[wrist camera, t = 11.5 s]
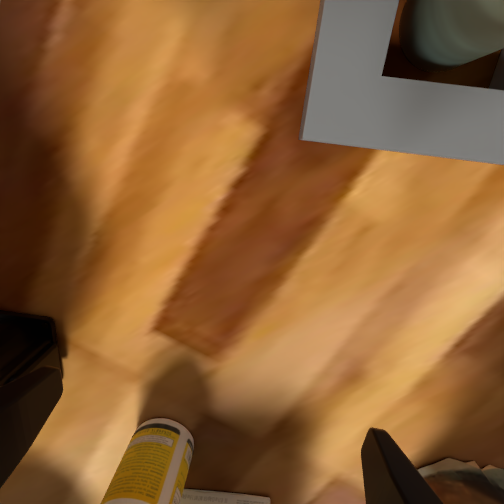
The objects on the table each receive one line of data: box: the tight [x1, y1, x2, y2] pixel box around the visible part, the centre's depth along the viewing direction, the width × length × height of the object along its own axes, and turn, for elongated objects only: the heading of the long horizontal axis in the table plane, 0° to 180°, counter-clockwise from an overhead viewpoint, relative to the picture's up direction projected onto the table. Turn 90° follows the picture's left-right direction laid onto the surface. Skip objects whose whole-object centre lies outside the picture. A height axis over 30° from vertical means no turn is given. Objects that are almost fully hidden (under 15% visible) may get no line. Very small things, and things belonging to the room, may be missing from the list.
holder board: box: [299, 0, 504, 165], centre depth 15 cm, size 13×13×2 cm
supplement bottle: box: [101, 418, 194, 504], centre depth 23 cm, size 5×5×10 cm
